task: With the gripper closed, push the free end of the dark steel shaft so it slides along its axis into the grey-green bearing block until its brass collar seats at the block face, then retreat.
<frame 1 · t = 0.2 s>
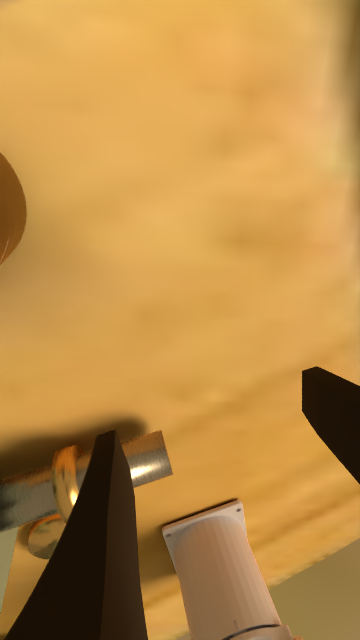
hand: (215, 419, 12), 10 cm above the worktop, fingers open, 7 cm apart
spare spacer: (59, 527, 27), on the worktop
shaft: (62, 485, 21), point 3 cm above the worktop, slide at 5.0 cm
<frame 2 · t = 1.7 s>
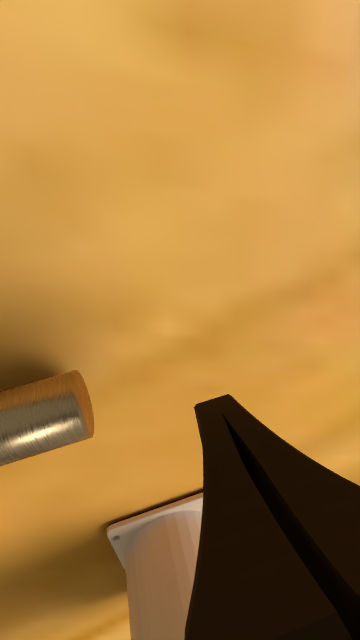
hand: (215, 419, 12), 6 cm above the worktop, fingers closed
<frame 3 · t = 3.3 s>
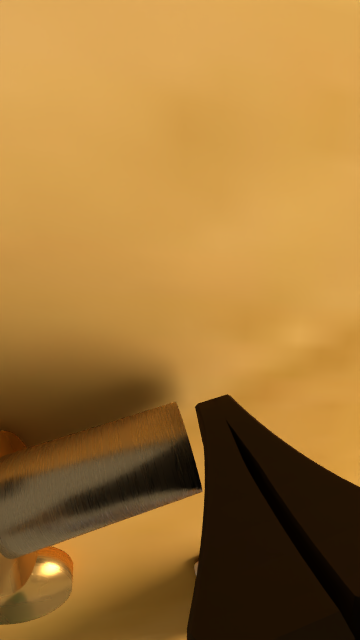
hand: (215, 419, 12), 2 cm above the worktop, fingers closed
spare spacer: (25, 568, 16), on the worktop
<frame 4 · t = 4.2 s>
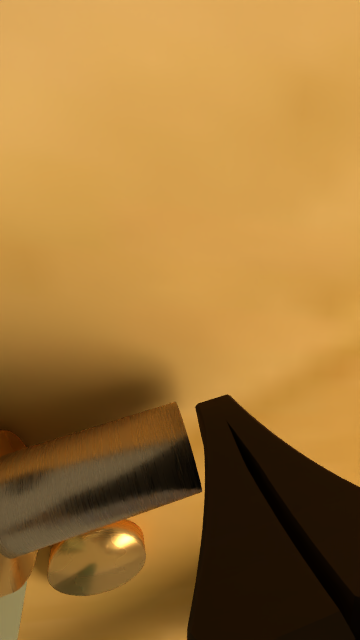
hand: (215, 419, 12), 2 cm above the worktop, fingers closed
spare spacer: (98, 541, 16), on the worktop
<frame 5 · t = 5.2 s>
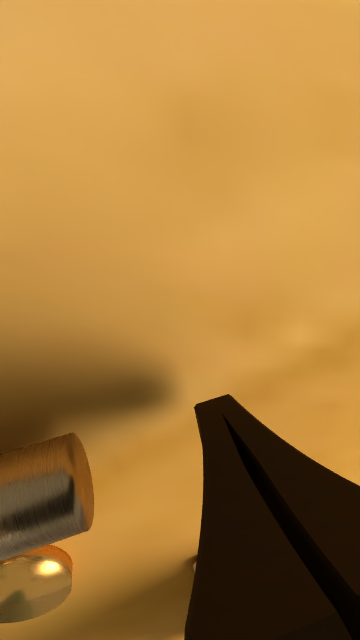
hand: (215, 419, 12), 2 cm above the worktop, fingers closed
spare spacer: (24, 566, 16), on the worktop
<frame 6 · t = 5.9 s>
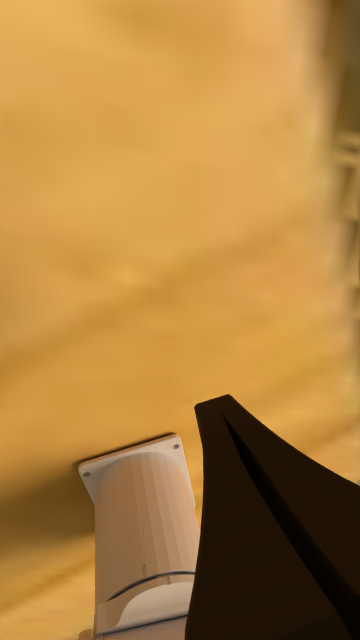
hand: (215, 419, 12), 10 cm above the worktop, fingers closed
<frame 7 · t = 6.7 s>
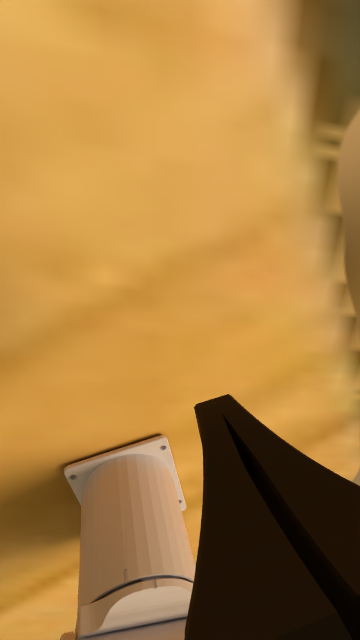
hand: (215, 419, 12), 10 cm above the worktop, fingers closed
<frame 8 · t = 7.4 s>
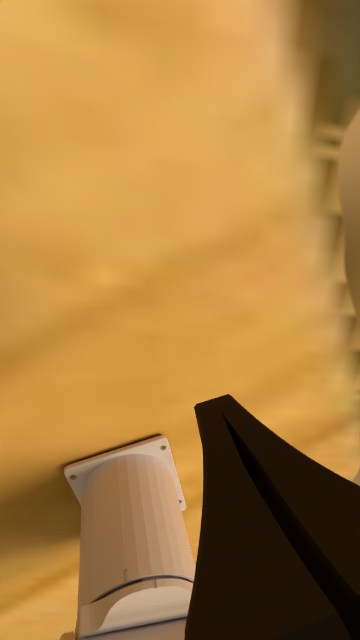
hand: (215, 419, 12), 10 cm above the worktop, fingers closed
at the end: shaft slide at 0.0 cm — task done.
